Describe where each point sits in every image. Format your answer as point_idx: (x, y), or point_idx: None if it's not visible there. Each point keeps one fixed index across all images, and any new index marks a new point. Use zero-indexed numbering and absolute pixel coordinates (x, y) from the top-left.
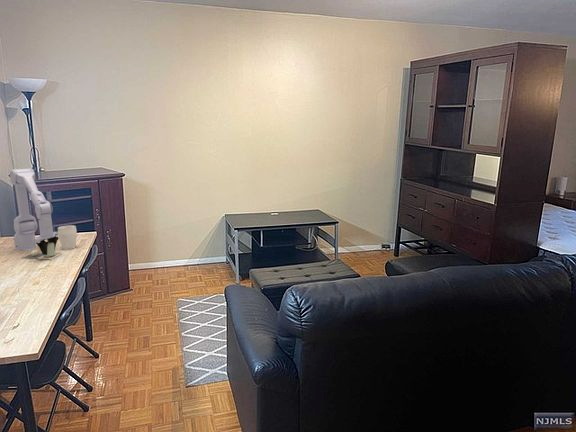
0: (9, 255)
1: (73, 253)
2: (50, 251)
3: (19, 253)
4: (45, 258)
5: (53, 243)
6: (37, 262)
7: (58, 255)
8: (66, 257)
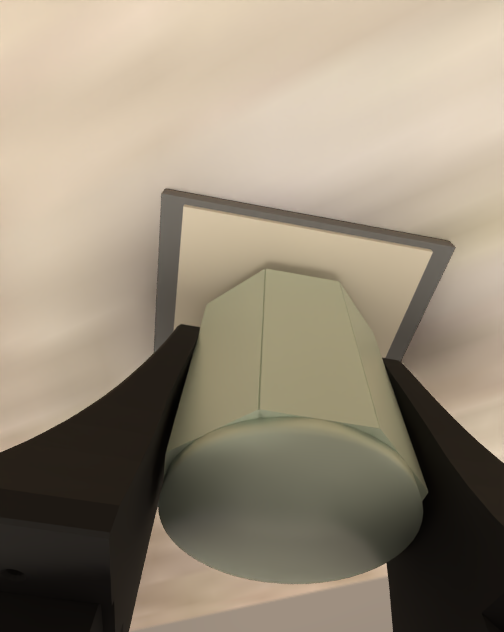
0: (216, 595)
1: (18, 14)
2: (365, 343)
3: (160, 568)
4: (384, 337)
5: (269, 428)
6: (474, 370)
7: (243, 220)
8: (281, 42)
